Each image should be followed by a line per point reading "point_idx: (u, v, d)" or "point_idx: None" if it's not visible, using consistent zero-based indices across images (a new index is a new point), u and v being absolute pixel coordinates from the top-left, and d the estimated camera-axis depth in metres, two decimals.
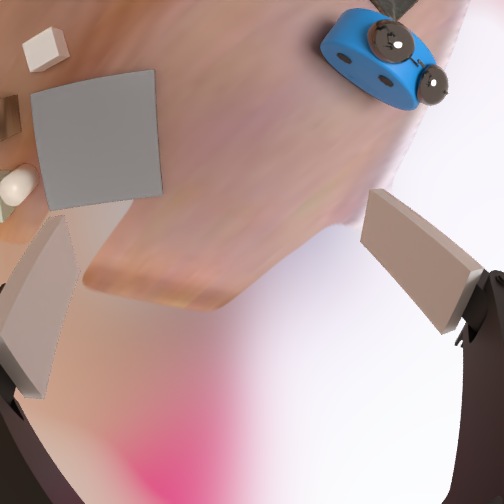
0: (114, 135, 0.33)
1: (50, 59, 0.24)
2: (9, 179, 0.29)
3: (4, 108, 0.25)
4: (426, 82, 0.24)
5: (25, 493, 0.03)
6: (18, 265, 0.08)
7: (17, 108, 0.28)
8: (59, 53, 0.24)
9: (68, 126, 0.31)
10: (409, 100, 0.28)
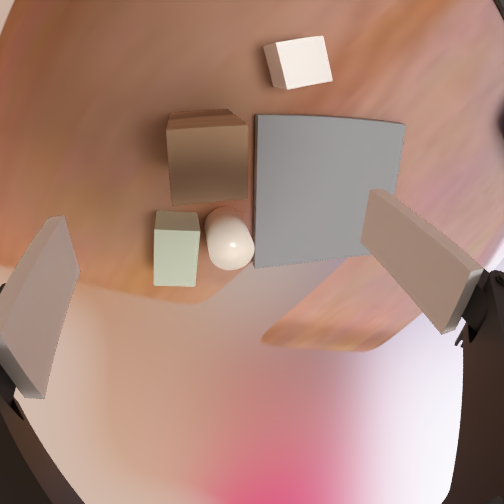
0: (356, 189, 0.32)
1: (319, 82, 0.22)
2: (232, 235, 0.27)
3: None
4: None
5: (25, 493, 0.03)
6: (18, 265, 0.08)
7: None
8: (331, 78, 0.23)
9: (307, 170, 0.30)
10: None
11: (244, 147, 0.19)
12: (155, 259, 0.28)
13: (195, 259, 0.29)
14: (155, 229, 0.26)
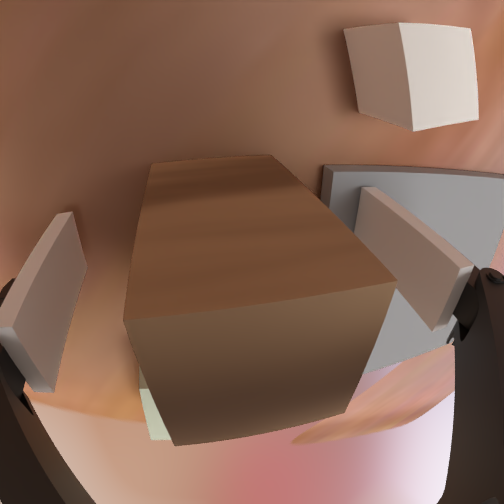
0: None
1: (461, 119, 0.10)
2: None
3: None
4: None
5: (33, 487, 0.03)
6: (28, 260, 0.08)
7: None
8: (475, 113, 0.10)
9: None
10: None
11: (370, 334, 0.06)
12: (148, 418, 0.15)
13: None
14: (141, 388, 0.14)
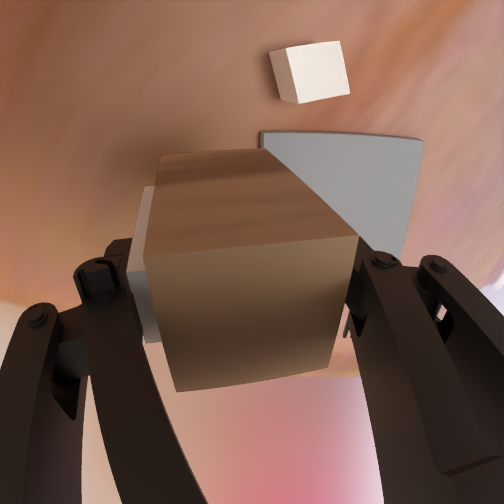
0: (371, 213, 0.29)
1: (335, 94, 0.20)
2: None
3: None
4: None
5: (153, 443, 0.04)
6: (137, 221, 0.10)
7: None
8: (348, 90, 0.20)
9: (318, 194, 0.26)
10: None
11: (341, 284, 0.08)
12: None
13: None
14: None
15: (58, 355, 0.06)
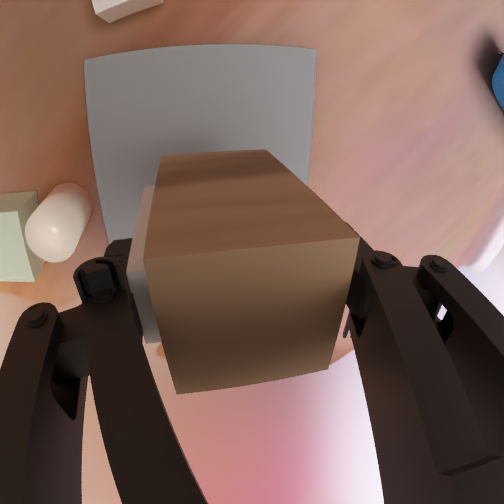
0: (242, 146, 0.22)
1: None
2: (45, 216, 0.17)
3: None
4: None
5: (153, 443, 0.04)
6: (137, 221, 0.10)
7: None
8: None
9: (157, 122, 0.20)
10: None
11: (342, 286, 0.08)
12: None
13: (23, 247, 0.19)
14: None
15: (58, 355, 0.06)
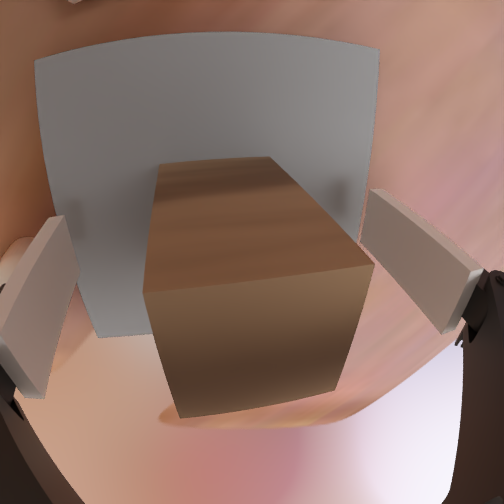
0: None
1: None
2: None
3: None
4: None
5: (24, 493, 0.03)
6: (18, 265, 0.08)
7: None
8: None
9: (146, 154, 0.13)
10: None
11: (353, 313, 0.08)
12: None
13: None
14: None
15: None
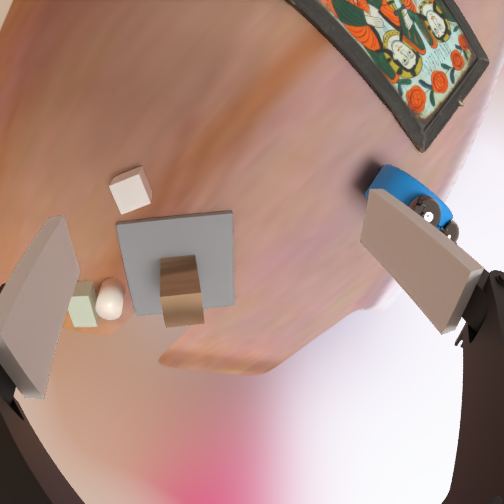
0: (197, 264, 0.46)
1: (141, 205, 0.37)
2: (106, 300, 0.41)
3: None
4: None
5: (25, 493, 0.03)
6: (18, 265, 0.08)
7: None
8: (150, 201, 0.37)
9: (156, 255, 0.44)
10: None
11: (200, 302, 0.38)
12: (70, 312, 0.42)
13: (91, 311, 0.42)
14: None
15: None
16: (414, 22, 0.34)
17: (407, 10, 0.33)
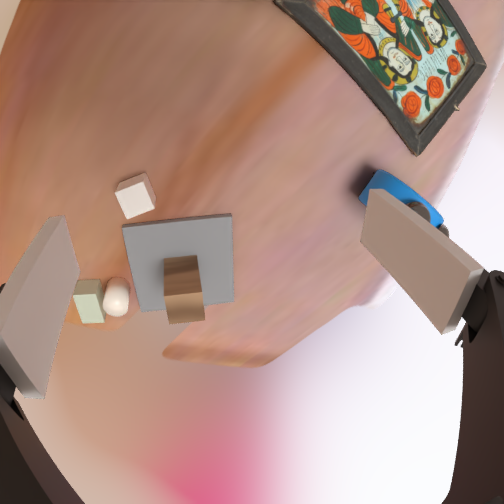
0: (199, 263, 0.49)
1: (146, 211, 0.39)
2: (113, 298, 0.44)
3: None
4: None
5: (24, 492, 0.03)
6: (18, 265, 0.08)
7: None
8: (154, 206, 0.40)
9: (160, 255, 0.46)
10: None
11: (201, 300, 0.41)
12: (78, 309, 0.45)
13: (98, 308, 0.46)
14: (73, 295, 0.43)
15: None
16: (411, 29, 0.35)
17: (404, 16, 0.34)
